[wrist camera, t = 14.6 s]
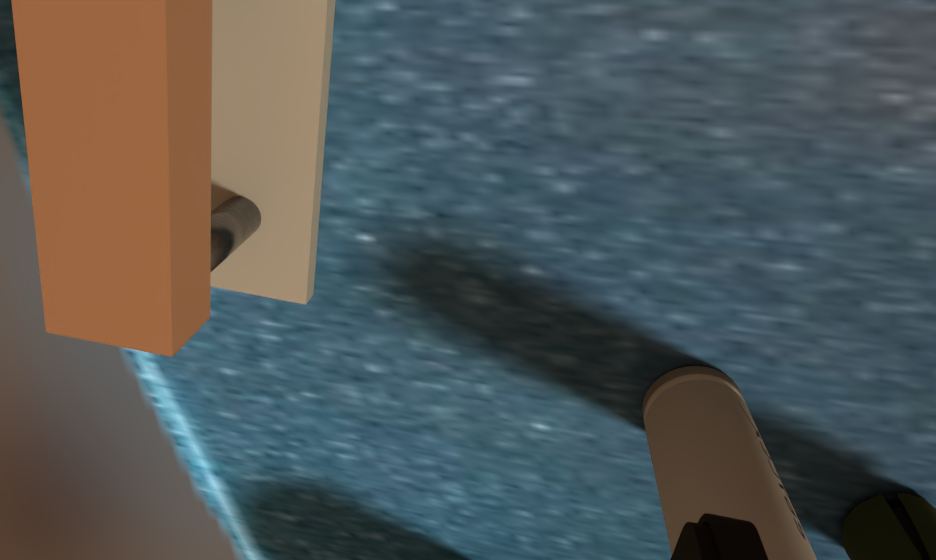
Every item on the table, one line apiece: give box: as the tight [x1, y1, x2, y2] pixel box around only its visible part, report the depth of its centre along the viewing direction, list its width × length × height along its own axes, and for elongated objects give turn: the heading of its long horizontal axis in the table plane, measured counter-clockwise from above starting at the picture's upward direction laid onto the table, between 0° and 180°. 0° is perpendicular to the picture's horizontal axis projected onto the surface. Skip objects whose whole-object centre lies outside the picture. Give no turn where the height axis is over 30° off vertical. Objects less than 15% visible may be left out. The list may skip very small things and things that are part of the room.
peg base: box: [210, 0, 335, 304], centre depth 39 cm, size 24×12×2 cm, turn 171°
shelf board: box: [11, 0, 212, 357], centre depth 30 cm, size 20×6×4 cm, turn 171°
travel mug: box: [642, 366, 817, 560], centre depth 36 cm, size 6×7×20 cm
